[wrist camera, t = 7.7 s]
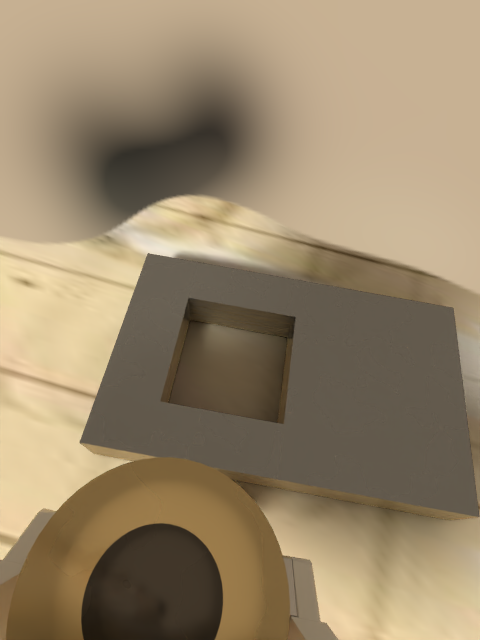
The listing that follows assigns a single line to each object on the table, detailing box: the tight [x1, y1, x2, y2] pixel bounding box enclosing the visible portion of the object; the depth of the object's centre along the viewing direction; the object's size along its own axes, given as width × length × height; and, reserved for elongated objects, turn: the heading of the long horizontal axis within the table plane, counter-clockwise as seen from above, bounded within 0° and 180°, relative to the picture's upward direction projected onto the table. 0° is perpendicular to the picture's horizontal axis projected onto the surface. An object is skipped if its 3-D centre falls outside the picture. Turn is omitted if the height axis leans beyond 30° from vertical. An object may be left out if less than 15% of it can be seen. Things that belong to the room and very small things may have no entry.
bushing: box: [6, 457, 290, 640], centre depth 10 cm, size 5×5×8 cm
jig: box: [80, 253, 479, 520], centre depth 21 cm, size 18×11×2 cm, turn 81°
